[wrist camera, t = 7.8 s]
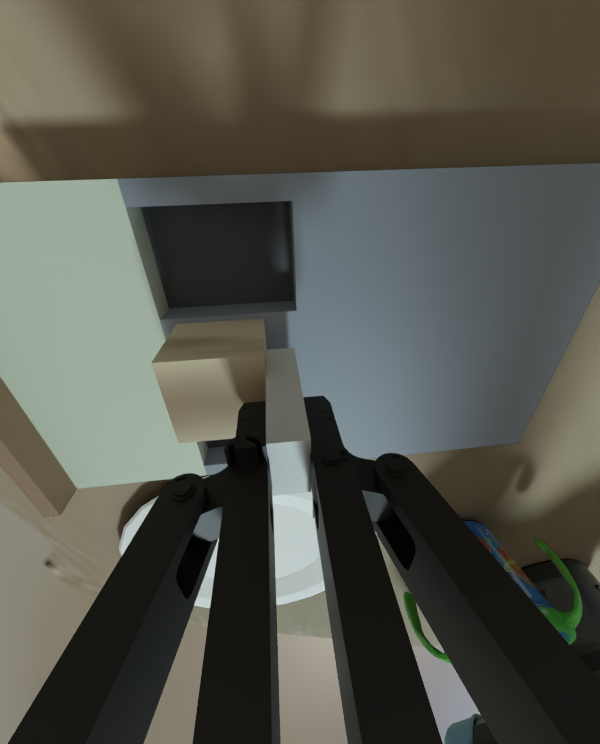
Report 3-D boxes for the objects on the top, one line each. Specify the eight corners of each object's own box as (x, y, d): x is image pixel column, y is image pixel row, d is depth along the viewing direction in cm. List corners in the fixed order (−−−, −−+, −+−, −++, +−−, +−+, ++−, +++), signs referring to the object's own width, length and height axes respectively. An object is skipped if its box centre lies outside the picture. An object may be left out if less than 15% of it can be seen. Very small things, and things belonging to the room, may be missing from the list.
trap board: (500, 425, 25) (538, 463, 21) (77, 467, 22) (44, 517, 19) (617, 164, 15) (718, 157, 12) (-103, 187, 13) (-236, 187, 9)
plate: (359, 425, 24) (366, 441, 22) (381, 568, 37) (385, 583, 36) (65, 495, 24) (52, 515, 23) (191, 610, 38) (188, 627, 36)
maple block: (270, 388, 18) (271, 434, 14) (195, 394, 18) (178, 443, 14) (263, 318, 15) (263, 355, 12) (176, 324, 15) (151, 363, 12)
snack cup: (404, 575, 38) (445, 688, 29) (372, 543, 33) (410, 668, 24) (525, 529, 35) (611, 641, 26) (510, 485, 30) (611, 606, 21)
